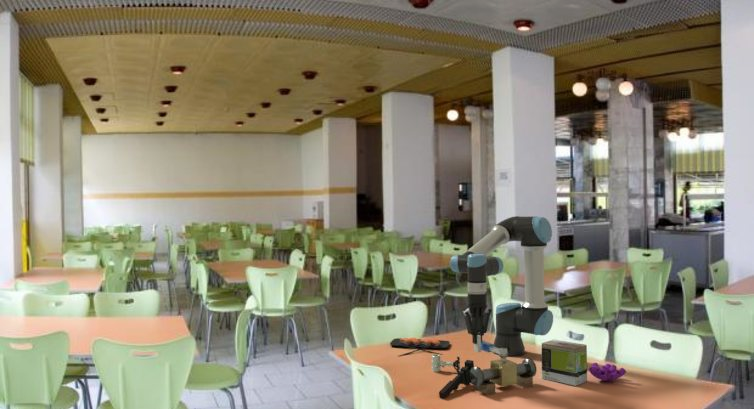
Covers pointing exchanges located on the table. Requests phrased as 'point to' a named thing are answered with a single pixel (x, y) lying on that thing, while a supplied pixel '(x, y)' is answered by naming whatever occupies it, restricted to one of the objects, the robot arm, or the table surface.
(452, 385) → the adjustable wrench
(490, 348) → the lever
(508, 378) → the pipe run
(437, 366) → the valve
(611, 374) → the purple lumpy cluster
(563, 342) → the tea box
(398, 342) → the sushi plate
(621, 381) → the table surface
